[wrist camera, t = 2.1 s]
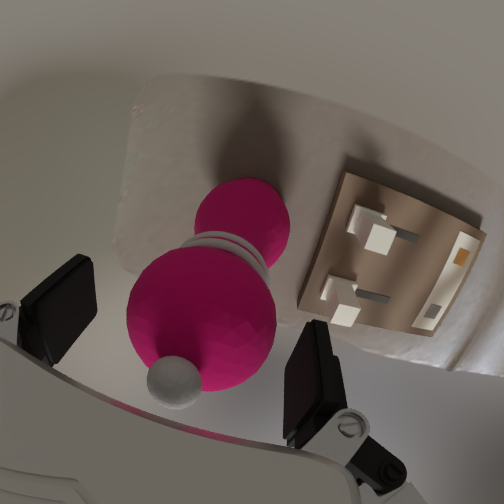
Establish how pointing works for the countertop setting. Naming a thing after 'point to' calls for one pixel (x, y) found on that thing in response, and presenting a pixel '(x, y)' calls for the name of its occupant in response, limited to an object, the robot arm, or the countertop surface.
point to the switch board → (393, 259)
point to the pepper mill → (211, 296)
